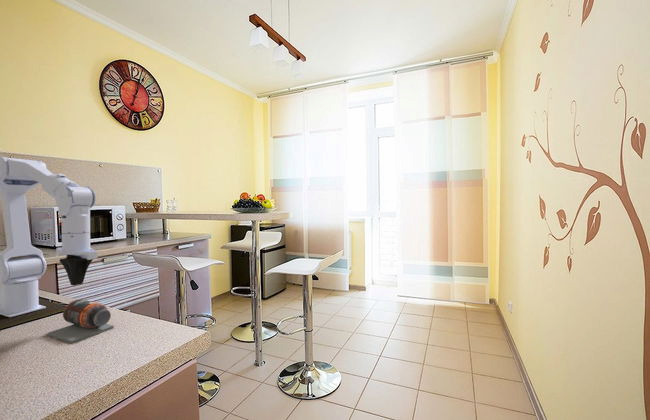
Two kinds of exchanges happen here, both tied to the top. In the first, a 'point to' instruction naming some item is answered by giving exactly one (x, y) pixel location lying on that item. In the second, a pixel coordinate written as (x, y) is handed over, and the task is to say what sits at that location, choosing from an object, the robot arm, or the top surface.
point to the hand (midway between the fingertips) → (76, 284)
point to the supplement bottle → (86, 313)
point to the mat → (77, 332)
